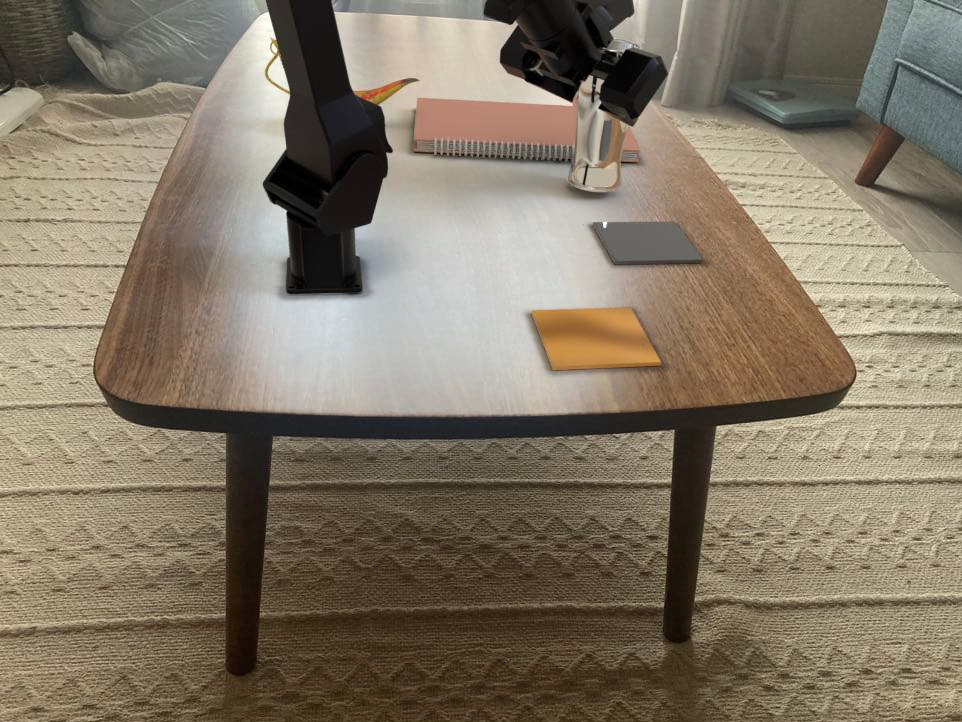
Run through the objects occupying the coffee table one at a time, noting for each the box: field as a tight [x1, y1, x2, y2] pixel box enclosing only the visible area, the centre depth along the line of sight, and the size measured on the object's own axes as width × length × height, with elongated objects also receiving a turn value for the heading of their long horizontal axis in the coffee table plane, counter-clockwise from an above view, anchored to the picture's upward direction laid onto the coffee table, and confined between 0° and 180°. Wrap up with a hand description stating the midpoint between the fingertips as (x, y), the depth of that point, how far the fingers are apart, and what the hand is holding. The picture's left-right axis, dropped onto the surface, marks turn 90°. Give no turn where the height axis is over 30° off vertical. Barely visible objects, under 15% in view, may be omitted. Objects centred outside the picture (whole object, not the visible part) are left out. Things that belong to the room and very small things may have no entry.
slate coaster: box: [592, 221, 703, 266], centre depth 95 cm, size 9×9×1 cm
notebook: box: [412, 97, 641, 163], centre depth 117 cm, size 27×17×2 cm, turn 95°
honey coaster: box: [531, 306, 662, 371], centre depth 78 cm, size 9×9×1 cm
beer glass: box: [566, 37, 643, 193], centre depth 101 cm, size 7×7×15 cm
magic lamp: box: [264, 36, 421, 106], centre depth 111 cm, size 7×18×11 cm, turn 100°
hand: (610, 113), depth 101 cm, fingers closed on beer glass, 7 cm apart
